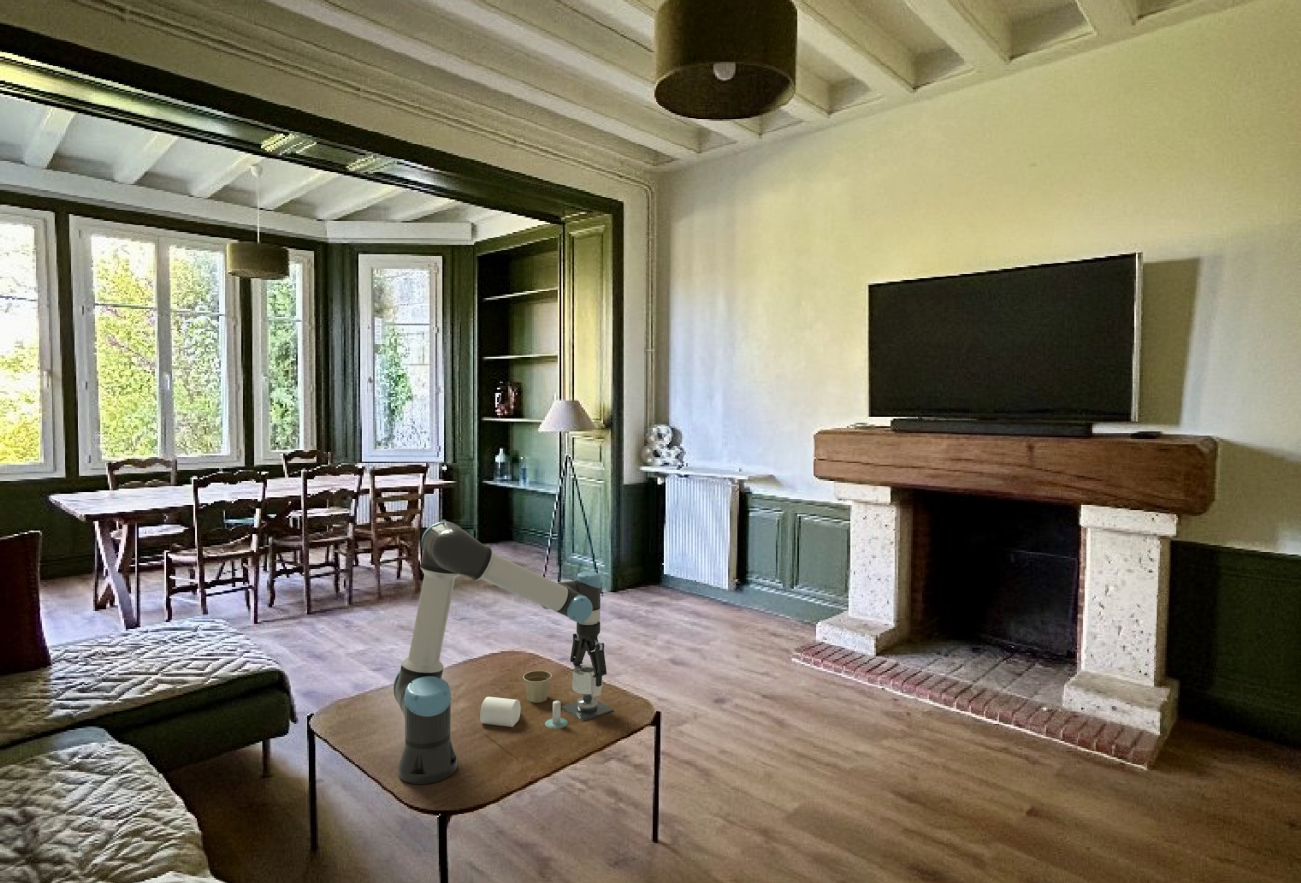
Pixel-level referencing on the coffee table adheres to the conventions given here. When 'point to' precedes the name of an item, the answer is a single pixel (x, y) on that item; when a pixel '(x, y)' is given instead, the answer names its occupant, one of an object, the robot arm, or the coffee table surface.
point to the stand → (556, 717)
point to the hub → (587, 708)
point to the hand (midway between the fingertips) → (587, 690)
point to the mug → (500, 711)
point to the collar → (583, 679)
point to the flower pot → (537, 685)
